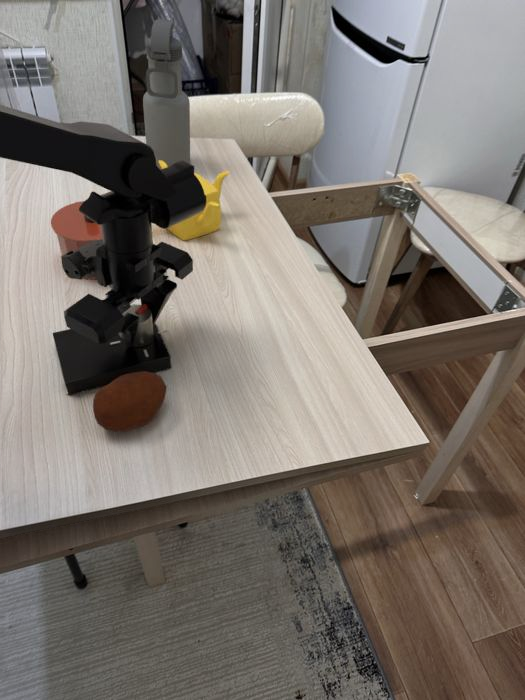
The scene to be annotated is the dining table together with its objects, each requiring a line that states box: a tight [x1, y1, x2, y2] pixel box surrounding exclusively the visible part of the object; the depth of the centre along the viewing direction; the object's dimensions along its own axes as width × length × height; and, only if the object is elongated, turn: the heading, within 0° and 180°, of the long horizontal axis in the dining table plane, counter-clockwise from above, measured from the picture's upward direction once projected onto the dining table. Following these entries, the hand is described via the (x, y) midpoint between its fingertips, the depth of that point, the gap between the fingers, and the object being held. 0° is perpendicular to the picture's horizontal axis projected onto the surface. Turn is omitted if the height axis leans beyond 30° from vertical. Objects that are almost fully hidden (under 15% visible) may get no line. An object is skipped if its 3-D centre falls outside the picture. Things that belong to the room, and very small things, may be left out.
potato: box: [92, 371, 168, 432], centre depth 60 cm, size 7×9×6 cm
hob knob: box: [130, 304, 154, 347], centre depth 67 cm, size 4×4×5 cm
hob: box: [52, 322, 172, 396], centre depth 69 cm, size 15×10×3 cm, turn 115°
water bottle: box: [142, 18, 191, 170], centre depth 103 cm, size 10×10×28 cm
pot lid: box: [50, 200, 103, 243], centre depth 79 cm, size 12×12×4 cm
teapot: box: [158, 160, 230, 241], centre depth 93 cm, size 15×14×10 cm
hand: (139, 335), depth 69 cm, fingers closed on hob knob, 4 cm apart
